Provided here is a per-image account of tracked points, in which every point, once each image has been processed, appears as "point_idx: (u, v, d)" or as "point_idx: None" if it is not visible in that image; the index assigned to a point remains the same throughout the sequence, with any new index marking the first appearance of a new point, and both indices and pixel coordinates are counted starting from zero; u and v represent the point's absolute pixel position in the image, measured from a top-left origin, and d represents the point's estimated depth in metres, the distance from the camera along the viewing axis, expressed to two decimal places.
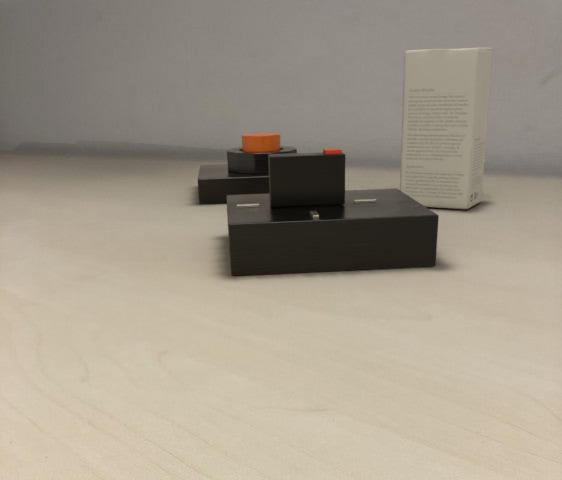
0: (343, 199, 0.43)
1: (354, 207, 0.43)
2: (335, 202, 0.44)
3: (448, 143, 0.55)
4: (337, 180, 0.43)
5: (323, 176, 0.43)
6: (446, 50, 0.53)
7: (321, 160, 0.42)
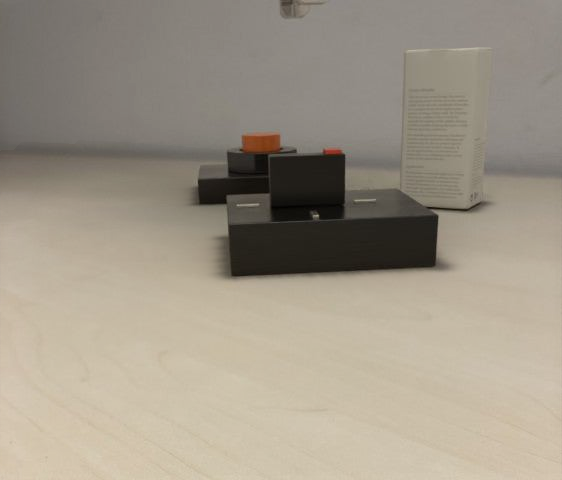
0: (343, 199, 0.43)
1: (354, 207, 0.43)
2: (335, 202, 0.44)
3: (448, 143, 0.55)
4: (337, 180, 0.43)
5: (323, 176, 0.43)
6: (446, 50, 0.53)
7: (321, 160, 0.42)
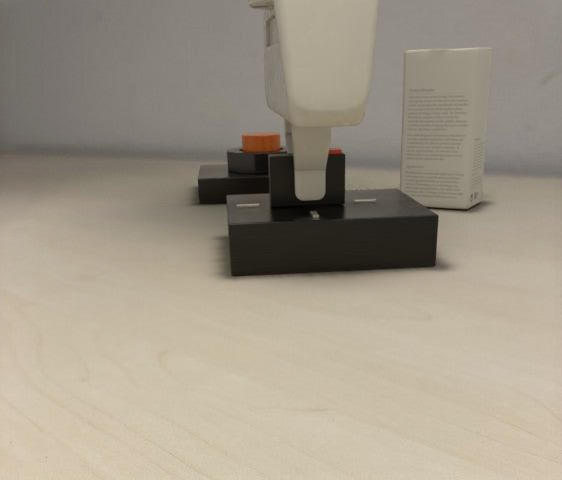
0: (343, 199, 0.43)
1: (354, 207, 0.43)
2: (335, 202, 0.44)
3: (448, 143, 0.55)
4: (337, 180, 0.43)
5: None
6: (446, 50, 0.53)
7: None
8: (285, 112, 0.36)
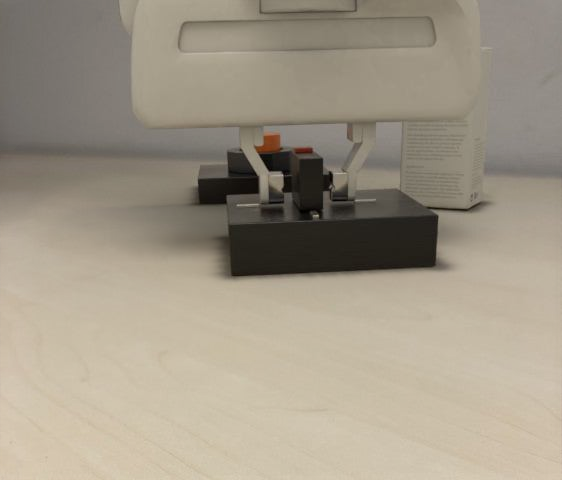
0: None
1: (354, 207, 0.43)
2: None
3: (448, 143, 0.55)
4: None
5: None
6: None
7: None
8: (420, 111, 0.41)
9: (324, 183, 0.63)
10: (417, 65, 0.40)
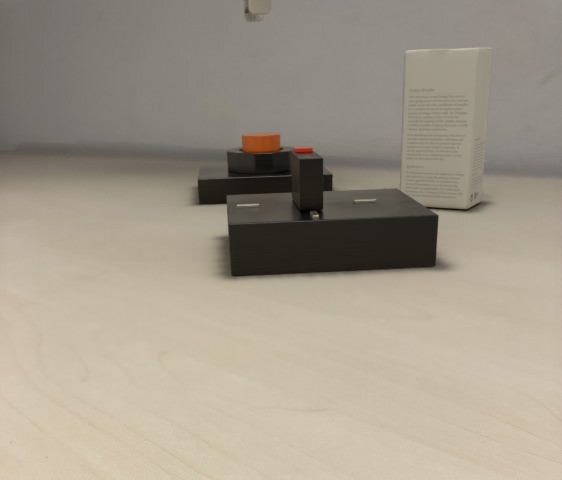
0: None
1: (354, 207, 0.43)
2: None
3: (448, 143, 0.55)
4: None
5: None
6: (446, 50, 0.53)
7: None
8: None
9: (324, 183, 0.63)
10: None
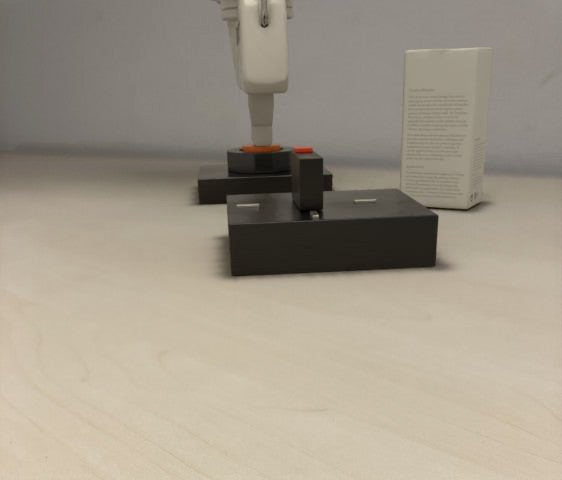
0: None
1: (354, 207, 0.43)
2: None
3: (448, 143, 0.55)
4: None
5: None
6: (446, 50, 0.53)
7: None
8: None
9: (324, 183, 0.63)
10: None
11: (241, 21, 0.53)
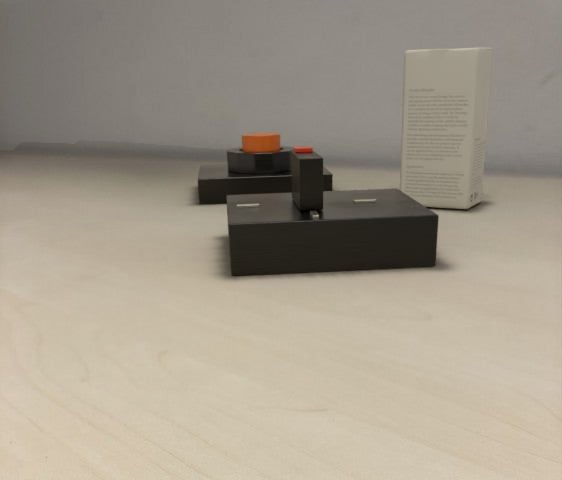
0: None
1: (354, 207, 0.43)
2: None
3: (448, 143, 0.55)
4: None
5: None
6: (446, 50, 0.53)
7: None
8: None
9: (324, 183, 0.63)
10: None
11: None
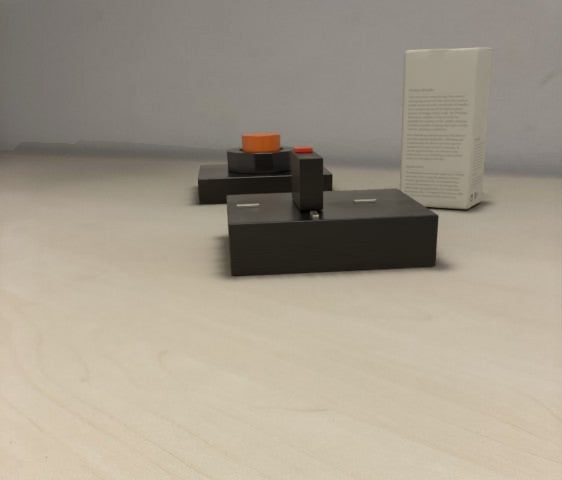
0: None
1: (354, 207, 0.43)
2: None
3: (448, 143, 0.55)
4: None
5: None
6: (446, 50, 0.53)
7: None
8: None
9: (324, 183, 0.63)
10: None
11: None
